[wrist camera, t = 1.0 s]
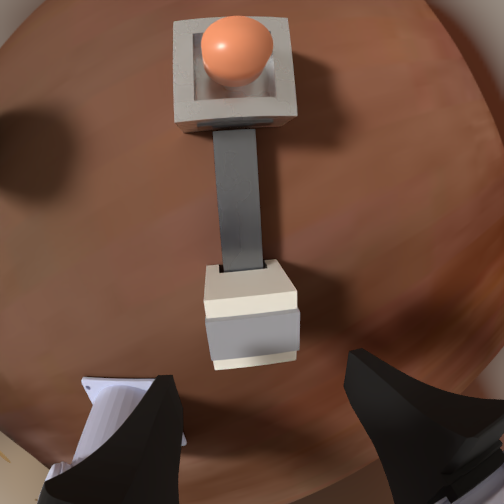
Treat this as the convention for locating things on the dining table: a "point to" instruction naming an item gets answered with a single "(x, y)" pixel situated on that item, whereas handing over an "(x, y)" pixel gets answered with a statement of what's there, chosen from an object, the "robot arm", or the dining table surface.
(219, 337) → the block
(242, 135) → the rail
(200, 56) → the button housing
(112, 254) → the dining table surface
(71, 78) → the dining table surface
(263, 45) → the button
